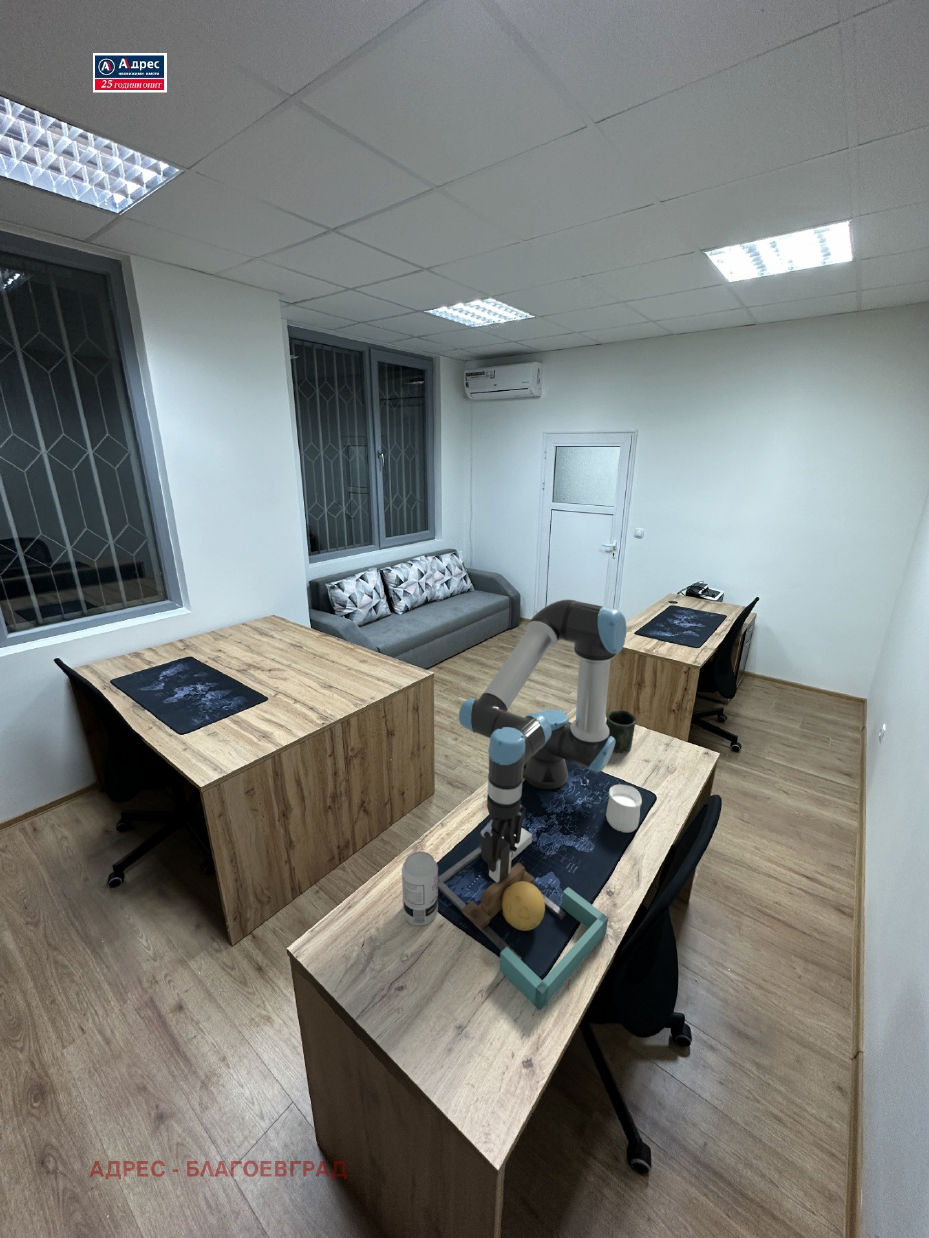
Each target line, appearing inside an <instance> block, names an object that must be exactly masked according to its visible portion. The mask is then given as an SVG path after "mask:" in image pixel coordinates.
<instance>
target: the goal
mask: <svg viewBox="0 0 929 1238" xmlns="http://www.w3.org/2000/svg"><path fill="white" fill-rule="evenodd" d="M561 909H562V910H563V911H564V910H565V912H567V913H568V914H569V915H570V916H572V918H574V919H575V920H576V921H578V922H579V923H580V924H581V925H583V926H584V927H585V928H586V929H587V930H586V931H585V932H584V934H583V935H582V936H581V937H580V938H579V939H578V940H577V941H576V942H575V944H574V945H573V946H572V947H571V948H570V949H569V950H568V951H567V952H566V953H565V955H563V957H562V958H561V959H560V961H559V962H558V963H556V964H555V966H554V967H553V968H552V969H551V971H549V973H547V975H546V976H545V977H544V978H543V980H542V979H541V978H540V977H539V976H538V975H537V974H536V973H535V972H534V971H533V970H532V969H531V968H530V967H529V966H528V965H527V964H526V963H524V961H523V960H522V959H521V960H520V959H519V958H518V957H517V956H516V955H515V954H514V953H513V952H512V951H511V950H510V949H509V948H508V947H506V948H505V949H504V950H503V951H500V955H499V971H501V972H502V973H503V975H504V976H506V978H507V979H508V980H509V981H511V983H512V984H513V985H514V986H515V987H516V988H517V989H519V991H520V992H521V993H522V994H523V995H524V996H525V997H526V998H527V999H528V1000H529V1002H530V1003H532V1004H533V1006H535V1007H536V1008H537V1009H538V1010H539V1011H540V1012H541V1011H542V1009H544V1008H545V1006H546V1005H547V1004H548V1002H550V1000H551V999H552V998H553V996H554V995H555V994H556V993H557V992H558V991H559V990H560V988H562V986H563V985H564V983H566V981H567V980H568V979H569V978H570V977H571V975H572V974H573V973H574V972H575V971H576V969H577V968H578V967H579V966H580V964H582V962H583V961H584V960H585V959H586V958H587V956H589V954H590V953H591V952H592V951H593V949H594V948H595V947H596V946H597V944H598V943H599V942H601V940H602V939H603V938H604V936H606V934H607V930H608V929H607V928H608V923H609V916H607V915H606V914H604V913H603V912H602V911H600V910H599V909H598V908H597V907H595V906H594V905H593V904H591V903H590V902H588V900H586V899H584V898H583V897H582V896H581V895H580V894H578V893H577V892H576V891H574V890H573V889H572V888H570V887H569V886H568V887H567V888H565V889H564V890H563V891H562V898H561Z"/></svg>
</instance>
